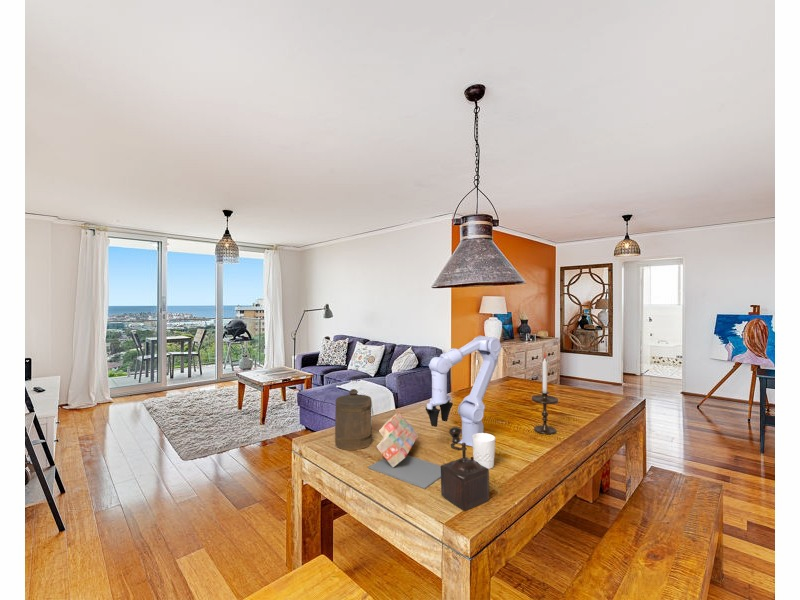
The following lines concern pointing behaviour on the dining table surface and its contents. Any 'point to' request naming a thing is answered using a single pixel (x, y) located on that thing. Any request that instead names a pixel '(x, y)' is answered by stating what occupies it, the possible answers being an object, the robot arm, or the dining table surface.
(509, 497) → the dining table surface
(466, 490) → the coffee grinder
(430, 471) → the mat
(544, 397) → the candlestick
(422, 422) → the dining table surface
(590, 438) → the dining table surface
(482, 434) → the white cup
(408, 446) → the stack of blocks
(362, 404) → the wooden container
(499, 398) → the dining table surface
